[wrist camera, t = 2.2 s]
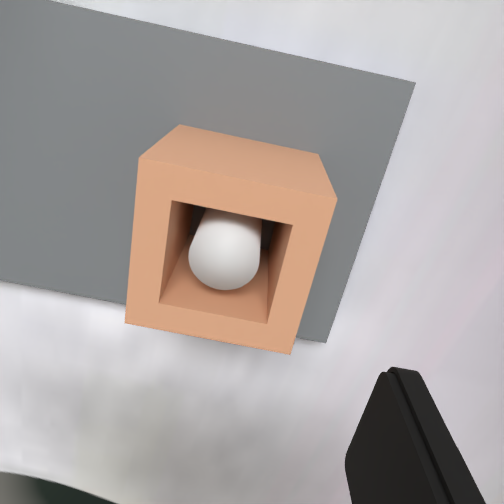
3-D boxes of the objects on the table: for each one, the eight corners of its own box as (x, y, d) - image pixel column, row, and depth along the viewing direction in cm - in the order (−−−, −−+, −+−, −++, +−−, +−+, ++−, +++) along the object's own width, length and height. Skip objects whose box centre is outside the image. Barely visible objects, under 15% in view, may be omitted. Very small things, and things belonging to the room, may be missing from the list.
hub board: (405, 80, 18) (483, 99, 11) (322, 326, 24) (342, 436, 17) (-278, -73, 17) (-645, -154, 10) (-194, 225, 22) (-395, 301, 16)
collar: (318, 153, 18) (337, 198, 13) (285, 274, 21) (290, 354, 15) (179, 124, 18) (138, 157, 13) (163, 250, 20) (124, 323, 15)
